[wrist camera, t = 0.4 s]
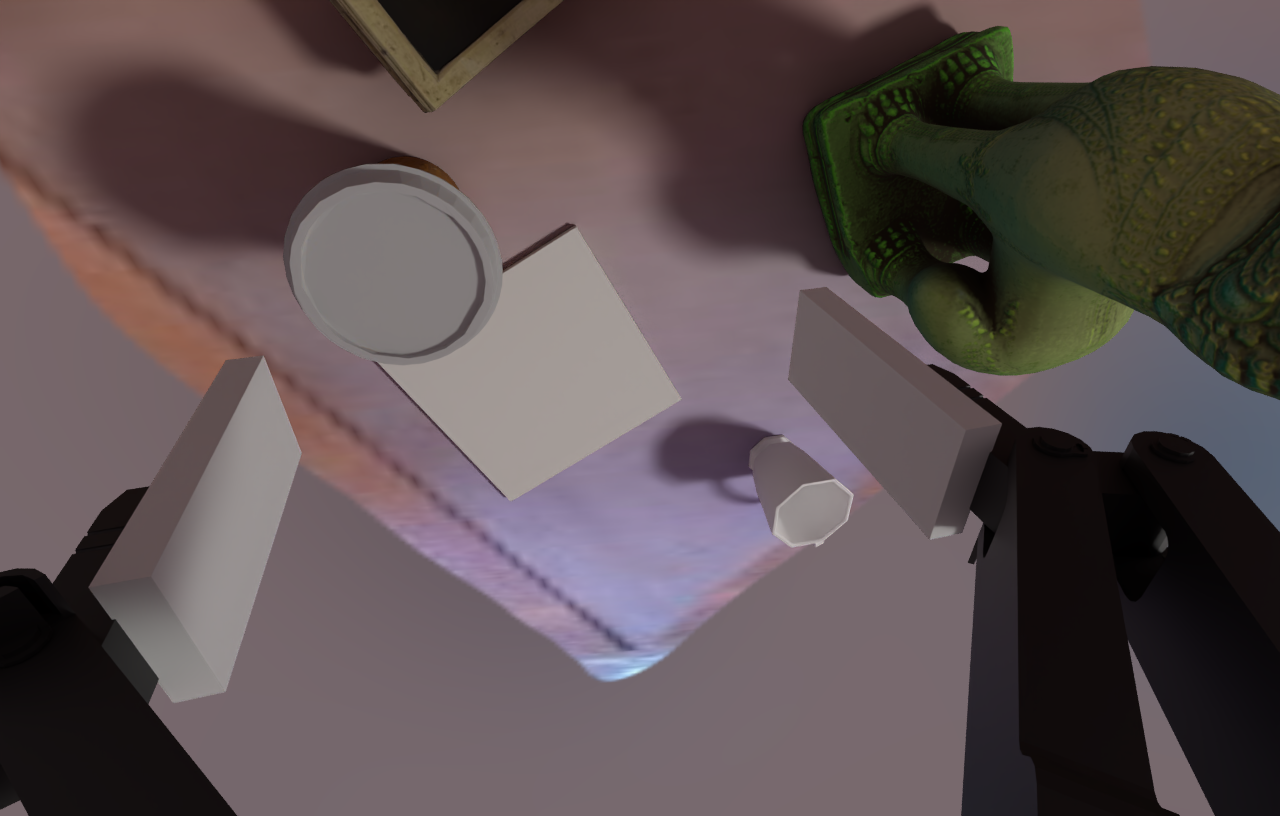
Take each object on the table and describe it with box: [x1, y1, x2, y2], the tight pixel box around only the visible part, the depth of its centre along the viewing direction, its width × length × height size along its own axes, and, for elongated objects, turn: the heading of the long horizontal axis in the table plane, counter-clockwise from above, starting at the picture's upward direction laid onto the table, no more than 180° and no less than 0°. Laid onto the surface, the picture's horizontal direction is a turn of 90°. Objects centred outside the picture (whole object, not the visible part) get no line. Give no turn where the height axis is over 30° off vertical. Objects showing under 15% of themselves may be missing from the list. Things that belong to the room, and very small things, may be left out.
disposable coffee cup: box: [283, 156, 503, 365], centre depth 33 cm, size 10×10×12 cm
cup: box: [749, 435, 854, 548], centre depth 53 cm, size 7×10×8 cm
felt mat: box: [378, 225, 682, 501], centre depth 46 cm, size 16×16×1 cm
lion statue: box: [803, 26, 1280, 400], centre depth 30 cm, size 14×17×35 cm
